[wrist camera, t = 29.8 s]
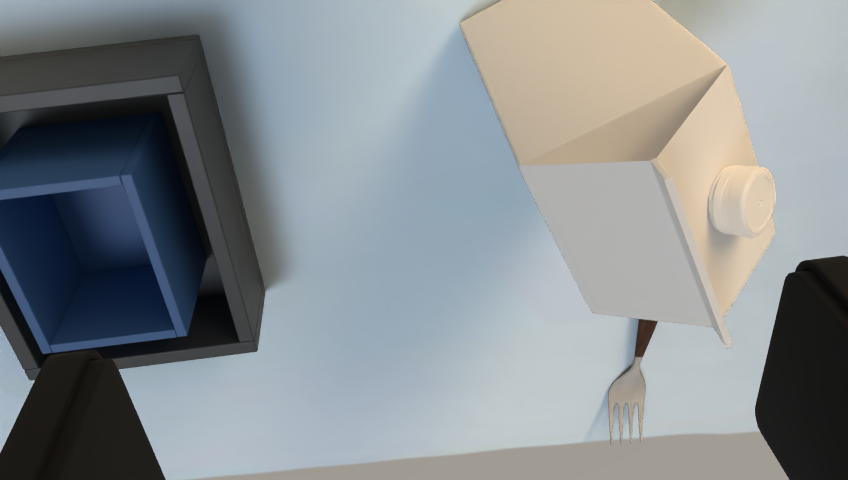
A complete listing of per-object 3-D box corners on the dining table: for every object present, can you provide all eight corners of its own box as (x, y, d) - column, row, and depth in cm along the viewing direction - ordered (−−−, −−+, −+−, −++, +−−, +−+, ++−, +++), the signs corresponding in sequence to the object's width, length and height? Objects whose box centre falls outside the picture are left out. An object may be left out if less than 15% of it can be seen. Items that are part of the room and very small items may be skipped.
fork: (687, 236, 45) (700, 255, 43) (635, 422, 54) (644, 443, 52) (645, 237, 45) (657, 256, 43) (599, 423, 53) (608, 445, 52)
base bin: (-58, 63, 35) (-115, 108, 31) (199, 33, 36) (179, 74, 31) (60, 317, 44) (29, 381, 40) (265, 291, 44) (257, 352, 40)
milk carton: (513, 137, 40) (626, 391, 24) (456, 21, 36) (545, 234, 21) (638, 75, 39) (841, 302, 23) (592, -51, 35) (797, 117, 19)
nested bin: (18, 127, 36) (-38, 194, 31) (162, 111, 37) (131, 174, 31) (81, 275, 42) (42, 354, 36) (207, 259, 42) (187, 336, 36)
